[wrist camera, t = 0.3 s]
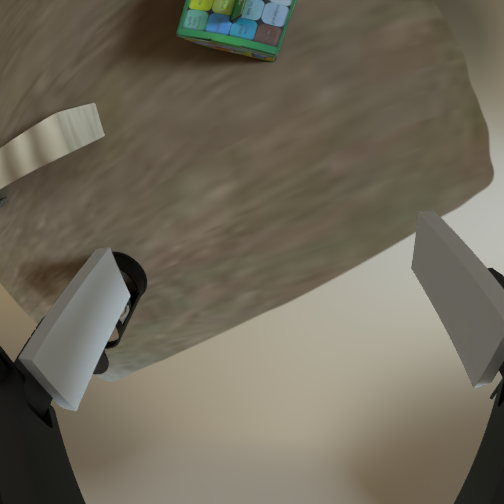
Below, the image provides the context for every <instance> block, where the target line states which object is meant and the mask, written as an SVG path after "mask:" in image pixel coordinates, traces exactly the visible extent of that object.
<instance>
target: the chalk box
mask: <svg viewBox="0 0 504 504" xmlns="http://www.w3.org/2000/svg"><path fill="white" fill-rule="evenodd" d="M296 1H297V0H186V1H185V4H184V8H183V11H182V14H181V17H180V21H179V24H178V28H177V31H176V35H177V36H178V37H181V38H183V39H186V40H189V41H191V42H193V43H196V44H199V45H201V46H204V47H208V48H213V49H218V50H223V51H227V52H232V53H236V54H241V55H245V56H249V57H253V58H257V59H261V60H265V61H268V62H274V61H275V60H276V58H277V55H278V53H279V50H280V48H281V45H282V42H283V38H284V35H285V32H286V29H287V26H288V23H289V20H290V17H291V14H292V12H293V9H294V7H295V4H296Z"/></svg>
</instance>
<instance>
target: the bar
mask: <svg viewBox="0 0 504 504" xmlns="http://www.w3.org/2000/svg"><path fill="white" fill-rule="evenodd" d="M104 136H105V135H104V132H103V128H102V125H101V122H100V119H99V115H98V112H97V109H96V105H95V103H91V104H87V105H83V106H79V107H75V108H72V109H68V110H64V111H61V112H57V113H55V114H53V115H52V116H50V117H48V118H46V119H45V120H43V121H41V122H40V123H38V124H36V125H35V126H33V127H31V128H30V129H28V130H27V131H25V132H23V133H22V134H20V135H19V136H17V137H16V138H14V139H13V140H11V141H10V142H8V143H7V144H6V145H4V146H3V147H1V148H0V189H1V188H3V187H5V186H6V185H8V184H10V183H12V182H13V181H15V180H17V179H19V178H21V177H23V176H24V175H26V174H28V173H30V172H32V171H34V170H36V169H38V168H40V167H42V166H44V165H46V164H48V163H50V162H52V161H54V160H56V159H58V158H60V157H62V156H64V155H67V154H69V153H71V152H73V151H75V150H77V149H79V148H81V147H83V146H85V145H87V144H89V143H91V142H93V141H95V140H98V139H100V138H102V137H104Z"/></svg>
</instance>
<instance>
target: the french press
mask: <svg viewBox="0 0 504 504" xmlns="http://www.w3.org/2000/svg"><path fill="white" fill-rule="evenodd" d="M112 254H113V256H114V259H115V261H116V264H117V266H118V268H119V269H120V270H122V271H123V272H125V273H126V274H127V275H128V276H129V277H130V278H131V279H132V280H133V282H134V283H135V285H136V287H137V290H136V291H135V292H133V293H130V298H129V300H128V302H127V304H126V306H125V308H124V310H123V312H122V314H121V315H120V317H119V319H118V321H117V323H116V325H115V326H116V328H117V330H118V333H119V338H118V339H117V340H115V341H111V342H107V344H106V346H105V348H104V349H109V348H113V347H115V346H117V345H118V343H119V341H120V339H121V337H122V335H123V333H124V331H125V329H126V326H127V324H128V322H129V320H130V318H131V316H132V314H133V312H134V310H135V308H136V305H137V303H138V301H139V299H140V297H141V296H142V295H143V294H144V292H145V290H146V287H147V278H146V274H145V272H144V270H143V269H142V267H141V266H140V265H139V264H138V262H136V261H135V260H134V259H133V258H131V257H130V256H128V255H125V254H123V253H119V252H112ZM123 320H125V321H124V323H123V325H122V322H121V321H123ZM108 366H109V361H108V358H107V356H106V354H105V350H103V352H102V354H101V356H100V359H99V361H98V363H97V365H96V367H95V369H94V372H93V374H102V373H104V372H105V371H106V370H107V368H108Z"/></svg>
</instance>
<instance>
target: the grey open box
mask: <svg viewBox="0 0 504 504" xmlns="http://www.w3.org/2000/svg"><path fill="white" fill-rule="evenodd" d="M7 203H8V199H7V197H6V198H5V199H3V200H1V201H0V208H1V207H3V206H4V205H6V204H7Z"/></svg>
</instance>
